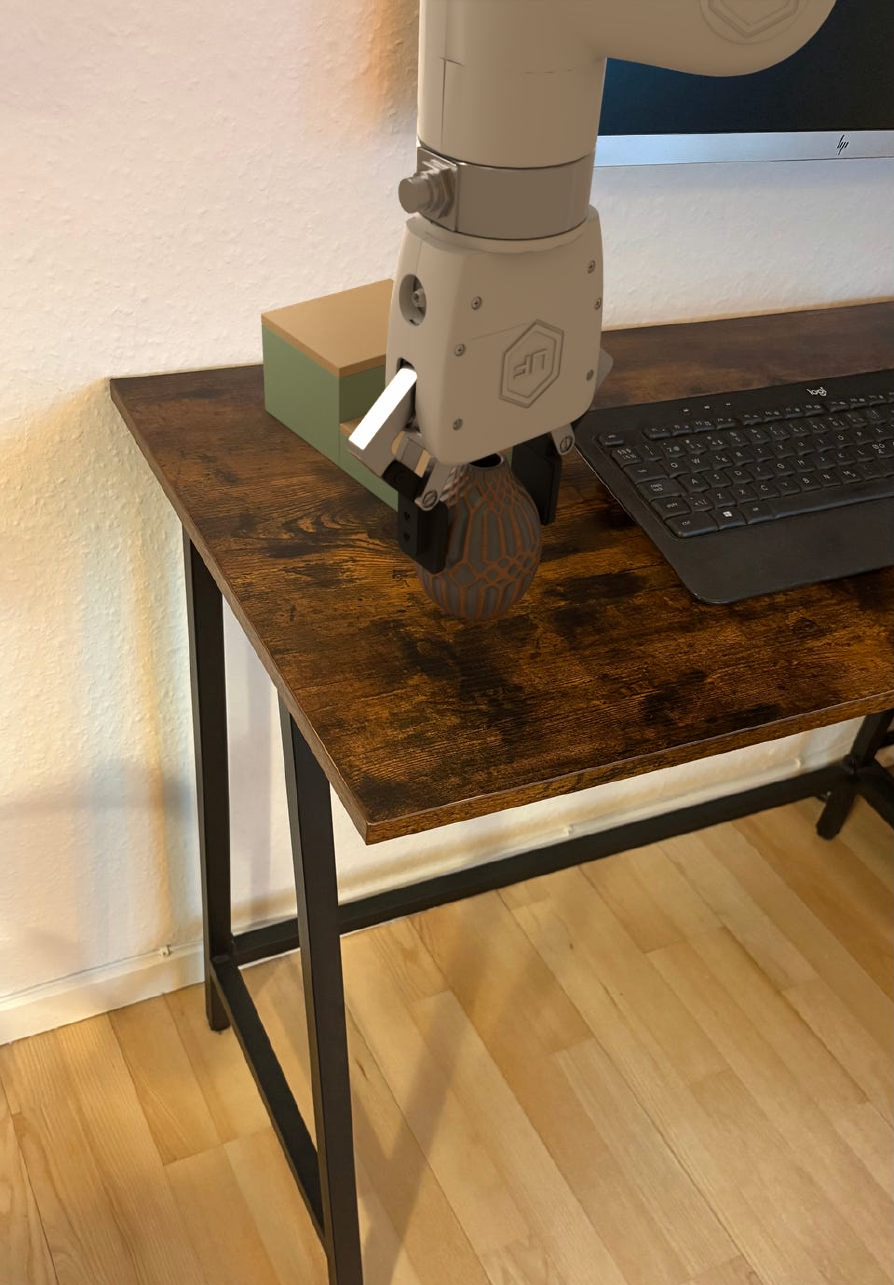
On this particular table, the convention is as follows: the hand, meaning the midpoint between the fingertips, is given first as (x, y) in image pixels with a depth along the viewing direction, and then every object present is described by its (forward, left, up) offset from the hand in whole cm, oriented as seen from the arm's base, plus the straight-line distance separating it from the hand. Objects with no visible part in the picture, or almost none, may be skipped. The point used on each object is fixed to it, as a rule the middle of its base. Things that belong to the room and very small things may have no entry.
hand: (477, 534), depth 65 cm
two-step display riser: (-5, -30, -12) cm, 32 cm away
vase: (0, 0, -4) cm, 4 cm away
